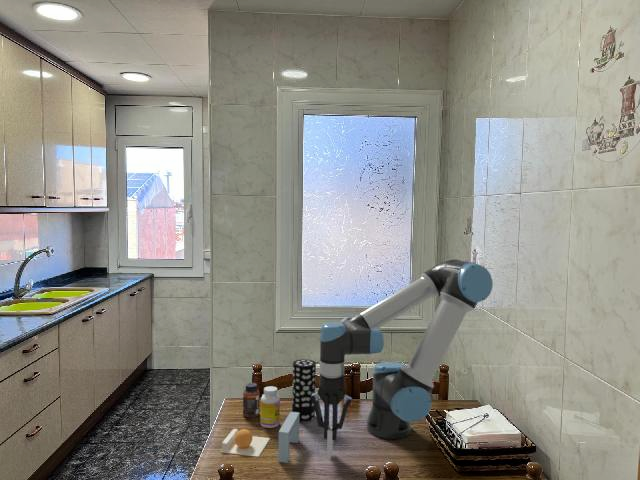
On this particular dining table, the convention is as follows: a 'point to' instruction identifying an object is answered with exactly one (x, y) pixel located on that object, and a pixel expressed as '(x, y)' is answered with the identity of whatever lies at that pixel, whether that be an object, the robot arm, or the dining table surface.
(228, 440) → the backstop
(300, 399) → the spotted tube
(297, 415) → the bridge
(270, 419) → the supplement bottle
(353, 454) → the dining table surface
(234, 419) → the dining table surface
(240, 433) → the ball
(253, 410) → the supplement bottle
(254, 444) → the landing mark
